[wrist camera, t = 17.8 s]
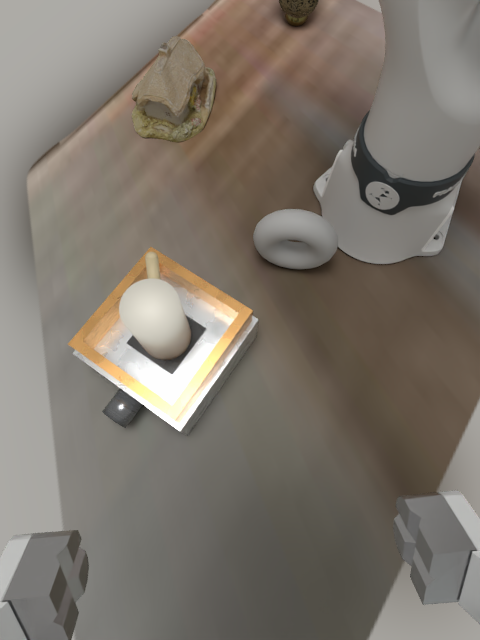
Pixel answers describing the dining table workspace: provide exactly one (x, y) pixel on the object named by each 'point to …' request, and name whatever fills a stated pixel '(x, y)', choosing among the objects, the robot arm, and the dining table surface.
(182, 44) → the ceramic model
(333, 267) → the dining table surface
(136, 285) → the spout can
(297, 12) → the cup
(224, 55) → the dining table surface
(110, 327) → the white orange open box
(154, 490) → the dining table surface
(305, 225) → the donut
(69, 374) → the dining table surface
